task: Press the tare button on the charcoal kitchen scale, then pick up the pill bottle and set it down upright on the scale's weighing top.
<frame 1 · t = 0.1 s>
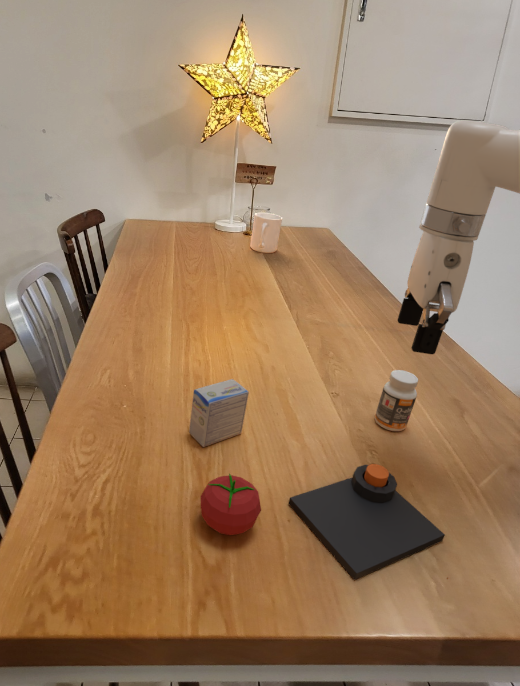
hand: (414, 337, 79), 22 cm above the table, tool pointing down, fingers open, 9 cm apart
tare button: (376, 475, 78), point 3 cm above the table, slide at 0.1 cm
scale: (363, 522, 75), on the table
mug: (263, 250, 187), on the table
medicine box: (215, 435, 89), on the table
pill bottle: (389, 424, 98), on the table
tomato: (226, 524, 71), on the table
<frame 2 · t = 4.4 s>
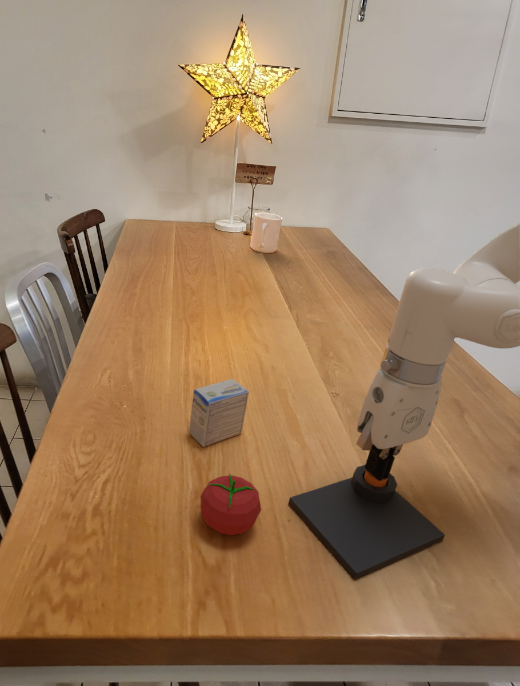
hand: (375, 473, 78), 4 cm above the table, tool pointing down, fingers closed
tare button: (375, 478, 79), point 3 cm above the table, slide at -0.4 cm, touching gripper
everything else where it was.
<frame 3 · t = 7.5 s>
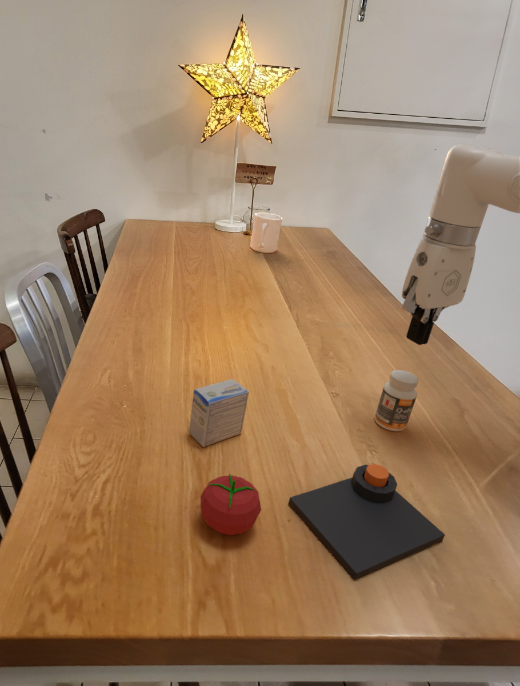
hand: (416, 340, 90), 17 cm above the table, tool pointing down, fingers closed
tare button: (376, 475, 78), point 3 cm above the table, slide at 0.1 cm
everything else where it was.
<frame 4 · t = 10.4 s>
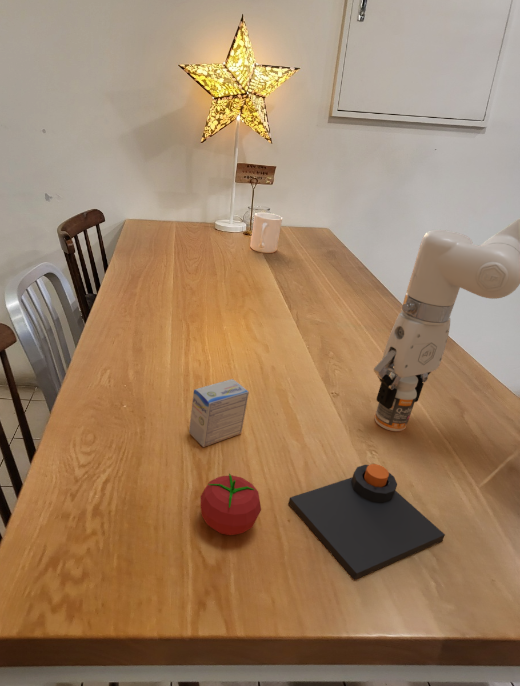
hand: (397, 400, 96), 5 cm above the table, tool pointing down, fingers closed on pill bottle, 5 cm apart
pill bottle: (389, 424, 98), on the table, touching gripper
everything else where it was.
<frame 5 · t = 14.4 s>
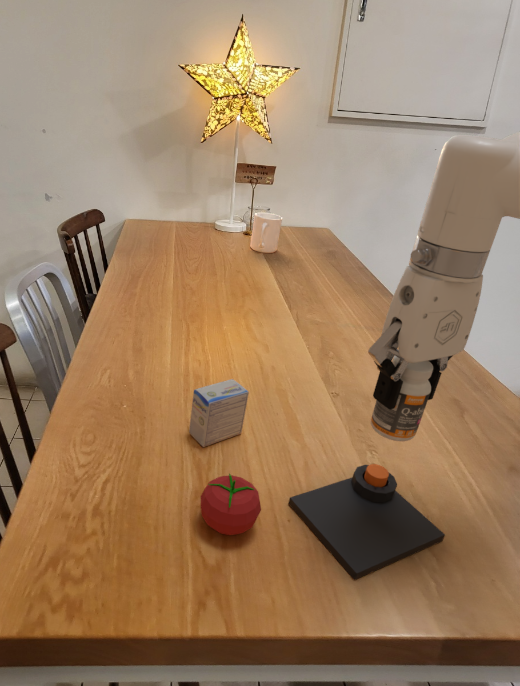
hand: (402, 397, 67), 20 cm above the table, tool pointing down, fingers closed on pill bottle, 5 cm apart
pill bottle: (391, 431, 69), point 15 cm above the table, touching gripper
everything else where it was.
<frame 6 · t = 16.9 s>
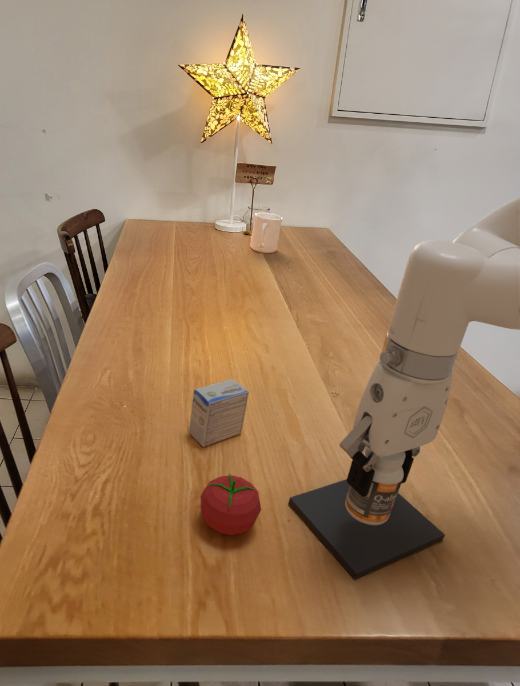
hand: (376, 481, 67), 10 cm above the table, tool pointing down, fingers closed on pill bottle, 5 cm apart
pill bottle: (365, 511, 70), point 5 cm above the table, touching gripper
everything else where it was.
when the fingers open (6 cm above the table, at t = 18.6 s): pill bottle stays where it is, resting on scale.
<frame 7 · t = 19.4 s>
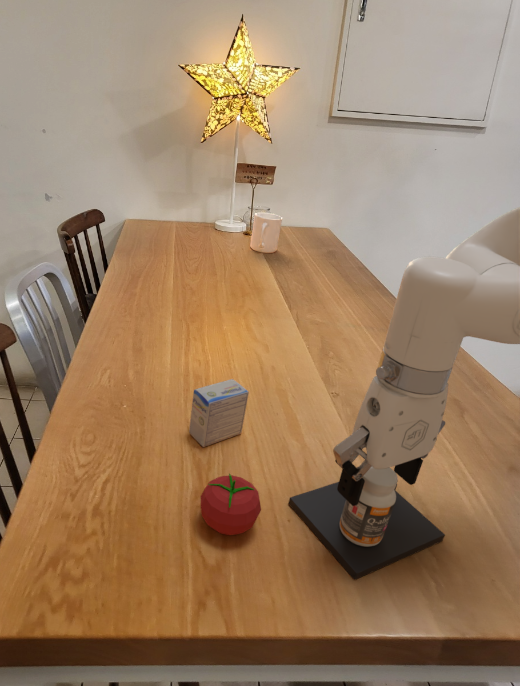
hand: (376, 487, 68), 9 cm above the table, tool pointing down, fingers open, 9 cm apart
pill bottle: (359, 533, 71), point 1 cm above the table, touching scale
everything else where it was.
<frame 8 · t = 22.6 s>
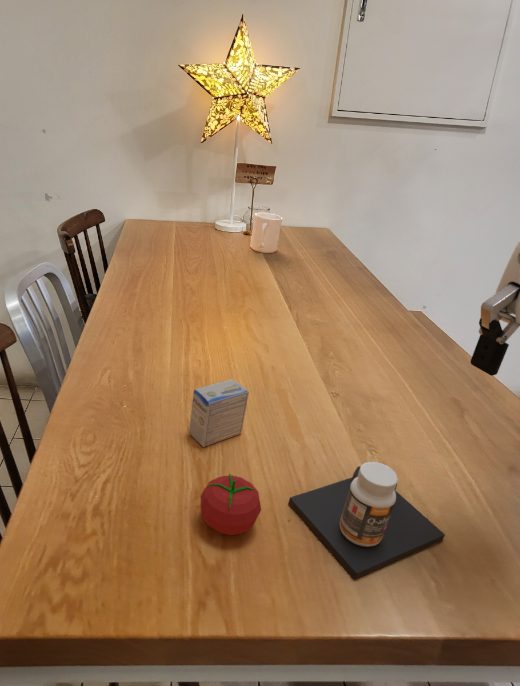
hand: (508, 363, 64), 26 cm above the table, tool pointing down, fingers open, 9 cm apart
nothing on the table moved.
at the end: tare button pushed in 1.1 cm at the most during the clip, back to where it started at the end; tare button slide at 0.1 cm; pill bottle inside the target area on the scale (1.1 cm from its centre), point 1.0 cm above the scale's base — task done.
